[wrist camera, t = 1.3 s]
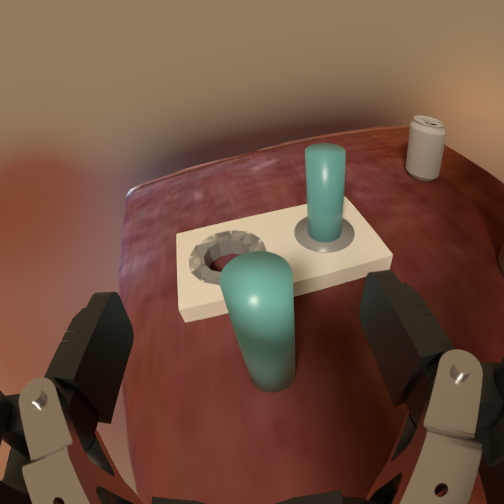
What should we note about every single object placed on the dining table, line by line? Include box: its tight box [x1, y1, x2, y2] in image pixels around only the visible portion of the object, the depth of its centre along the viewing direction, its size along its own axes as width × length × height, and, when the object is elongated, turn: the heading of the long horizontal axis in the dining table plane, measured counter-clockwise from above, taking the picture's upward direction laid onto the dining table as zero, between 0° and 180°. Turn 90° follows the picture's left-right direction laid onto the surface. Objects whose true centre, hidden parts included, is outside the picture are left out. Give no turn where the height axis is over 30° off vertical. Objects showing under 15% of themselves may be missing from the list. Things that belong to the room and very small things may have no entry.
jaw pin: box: [219, 251, 295, 392], centre depth 23 cm, size 4×4×14 cm
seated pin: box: [305, 143, 346, 242], centre depth 35 cm, size 4×4×14 cm
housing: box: [177, 197, 393, 323], centre depth 39 cm, size 14×26×3 cm, turn 102°
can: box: [405, 116, 446, 181], centre depth 48 cm, size 8×8×12 cm
